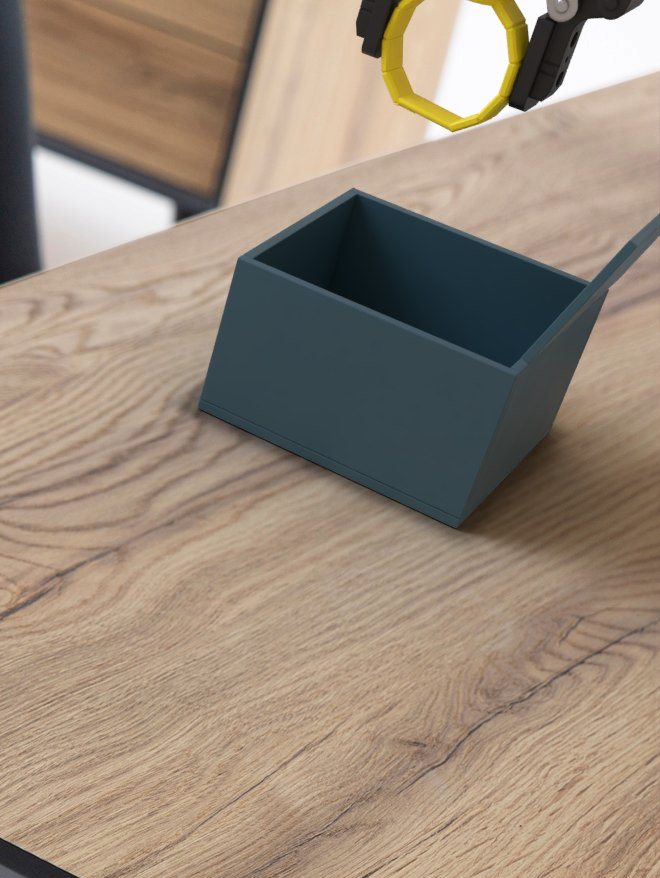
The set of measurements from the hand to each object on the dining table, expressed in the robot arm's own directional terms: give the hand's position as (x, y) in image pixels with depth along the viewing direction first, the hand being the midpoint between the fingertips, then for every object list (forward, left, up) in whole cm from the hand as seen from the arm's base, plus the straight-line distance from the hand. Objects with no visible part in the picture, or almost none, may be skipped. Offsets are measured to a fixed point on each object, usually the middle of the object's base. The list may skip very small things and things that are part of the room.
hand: (448, 77), depth 72 cm
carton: (-2, +1, -16) cm, 16 cm away
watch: (0, +1, -2) cm, 2 cm away
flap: (-9, 0, -4) cm, 10 cm away
